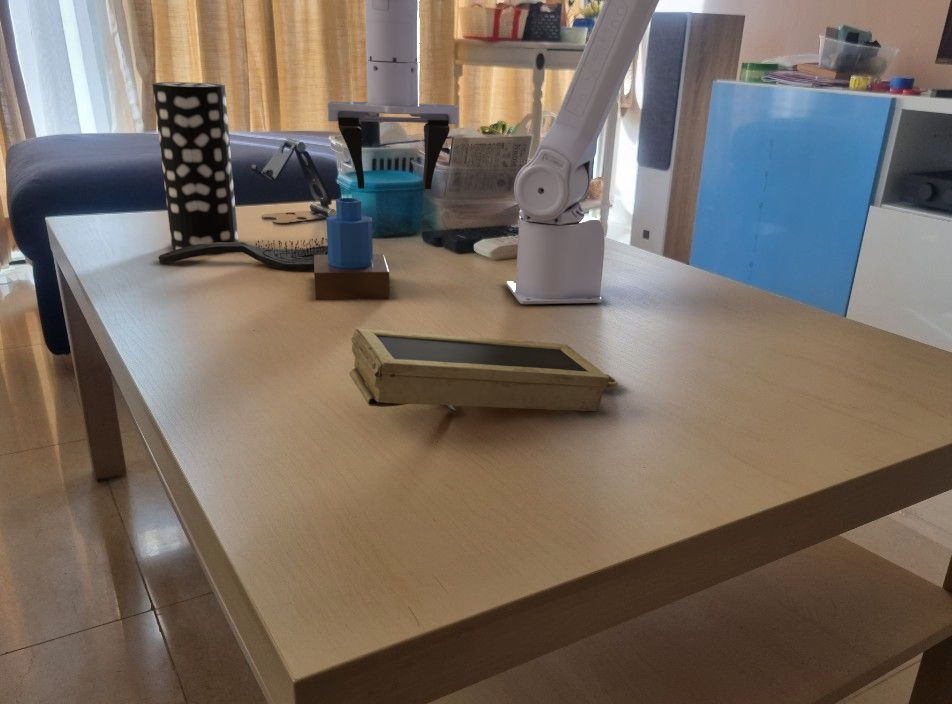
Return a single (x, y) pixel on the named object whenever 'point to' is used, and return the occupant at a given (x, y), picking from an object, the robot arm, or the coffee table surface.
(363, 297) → the block
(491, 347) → the box
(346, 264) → the bottle
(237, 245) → the hairbrush
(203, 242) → the white-spotted black cylinder
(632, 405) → the coffee table surface
